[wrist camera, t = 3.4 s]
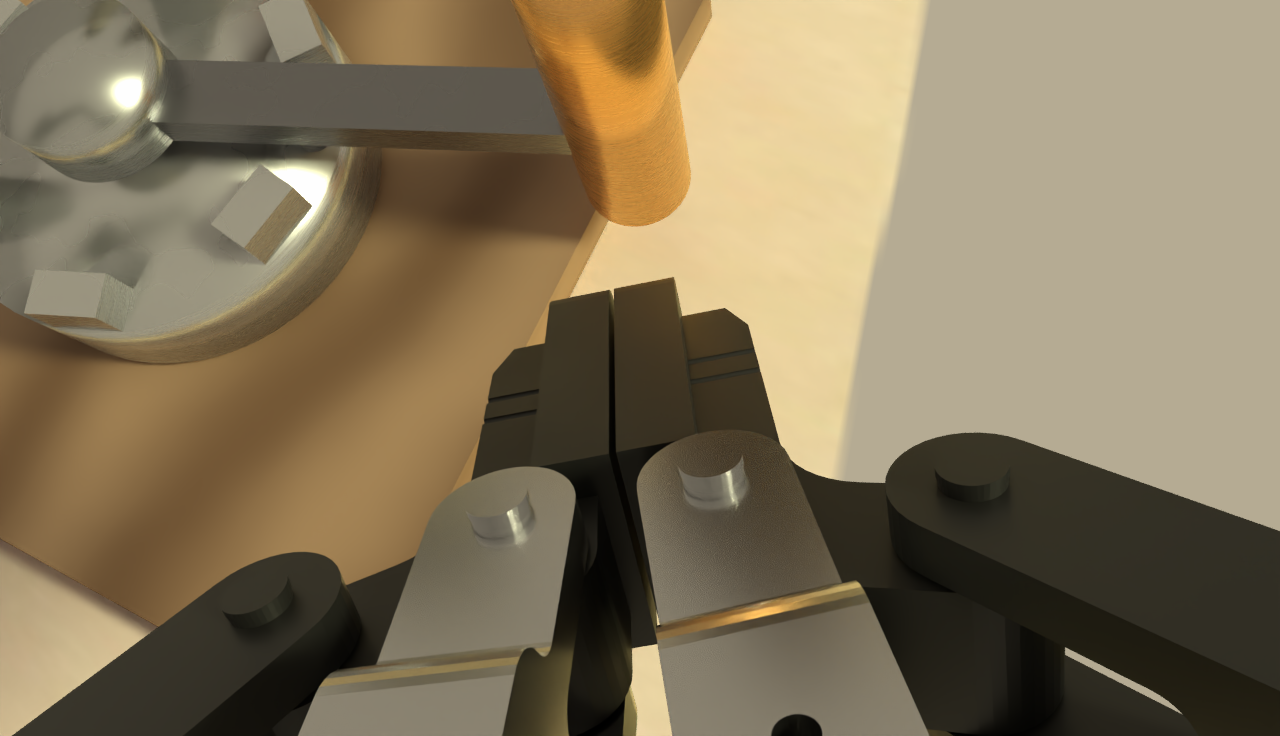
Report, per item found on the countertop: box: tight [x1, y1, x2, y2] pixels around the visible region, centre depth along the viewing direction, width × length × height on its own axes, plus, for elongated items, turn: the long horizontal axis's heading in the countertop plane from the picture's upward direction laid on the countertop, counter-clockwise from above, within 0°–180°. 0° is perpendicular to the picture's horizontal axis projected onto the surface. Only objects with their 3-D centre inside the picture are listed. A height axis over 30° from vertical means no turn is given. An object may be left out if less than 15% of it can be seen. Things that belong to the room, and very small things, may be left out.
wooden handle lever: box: [0, 0, 691, 363], centre depth 24 cm, size 22×12×14 cm, turn 84°
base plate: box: [0, 0, 712, 627], centre depth 32 cm, size 24×24×2 cm
